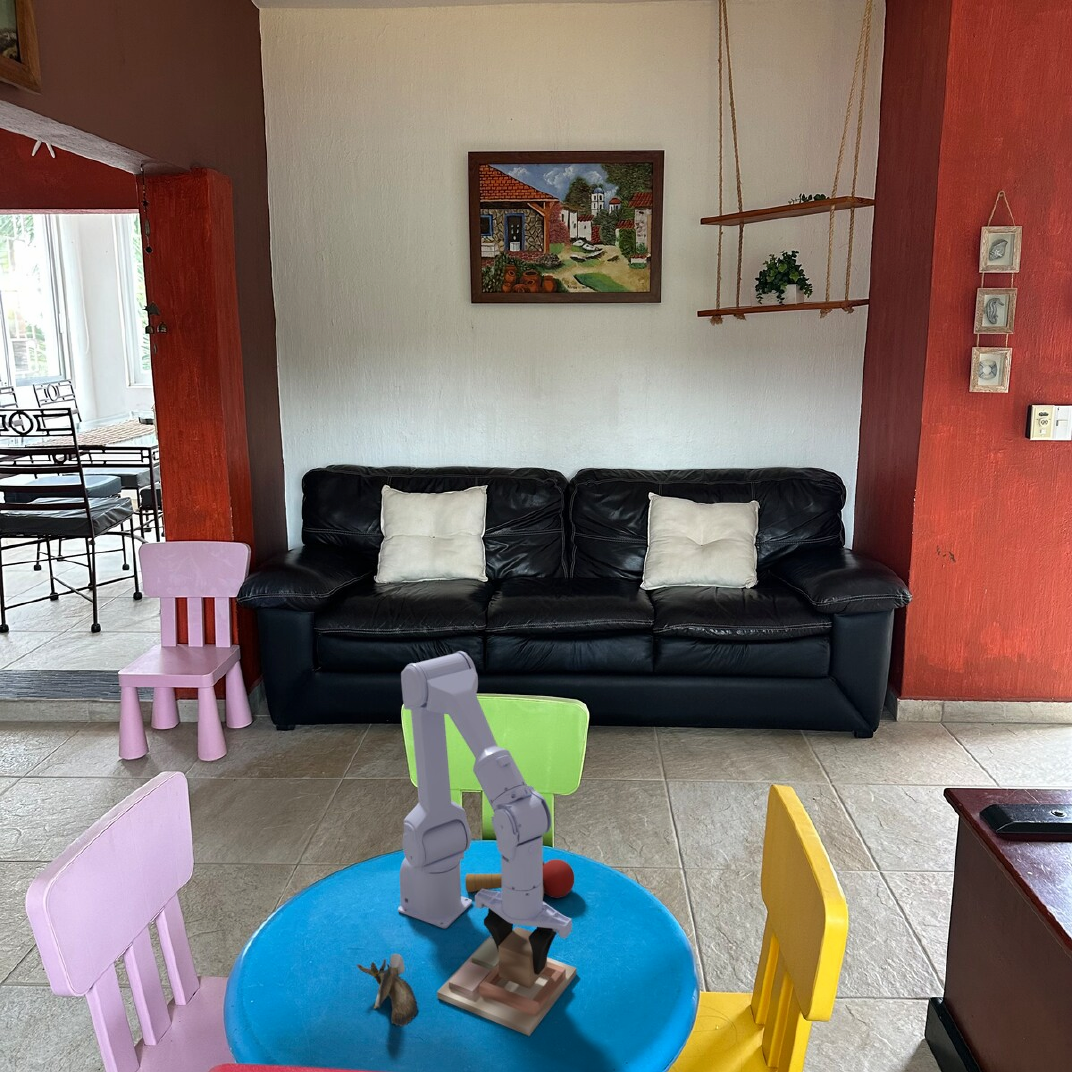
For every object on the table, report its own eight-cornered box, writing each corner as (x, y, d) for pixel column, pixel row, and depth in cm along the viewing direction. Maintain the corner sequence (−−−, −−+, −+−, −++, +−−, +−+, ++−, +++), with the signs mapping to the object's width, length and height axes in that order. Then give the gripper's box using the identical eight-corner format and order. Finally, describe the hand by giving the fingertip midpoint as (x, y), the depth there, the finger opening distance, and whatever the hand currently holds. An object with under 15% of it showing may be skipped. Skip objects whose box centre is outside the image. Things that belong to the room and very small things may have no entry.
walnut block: (499, 976, 138) (498, 946, 136) (516, 956, 142) (516, 926, 141) (529, 988, 135) (529, 957, 134) (547, 967, 139) (547, 937, 138)
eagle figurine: (344, 992, 137) (368, 1021, 130) (365, 942, 139) (390, 968, 131) (389, 1003, 141) (415, 1032, 133) (409, 955, 143) (436, 980, 135)
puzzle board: (437, 997, 138) (436, 982, 137) (489, 941, 150) (489, 927, 149) (529, 1035, 131) (529, 1020, 130) (576, 973, 143) (576, 959, 142)
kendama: (465, 914, 159) (575, 904, 157) (460, 877, 158) (570, 866, 157) (472, 894, 166) (577, 884, 165) (467, 858, 166) (572, 848, 164)
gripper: (582, 878, 135) (581, 963, 138) (492, 850, 141) (494, 932, 145) (558, 906, 129) (557, 994, 132) (465, 875, 136) (468, 959, 139)
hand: (522, 963), depth 138 cm, fingers closed on walnut block, 5 cm apart
